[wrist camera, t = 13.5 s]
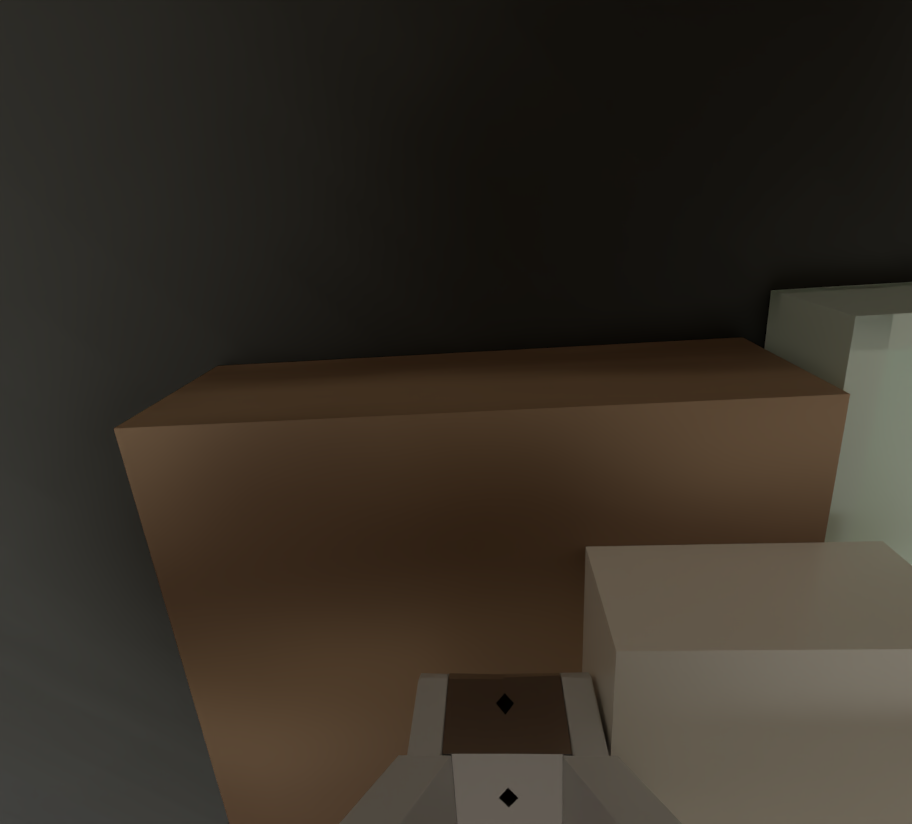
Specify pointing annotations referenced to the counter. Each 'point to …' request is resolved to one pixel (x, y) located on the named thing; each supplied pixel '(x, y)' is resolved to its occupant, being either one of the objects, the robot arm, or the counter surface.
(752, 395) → the board
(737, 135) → the counter surface
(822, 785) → the tile
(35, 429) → the counter surface
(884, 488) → the tray
